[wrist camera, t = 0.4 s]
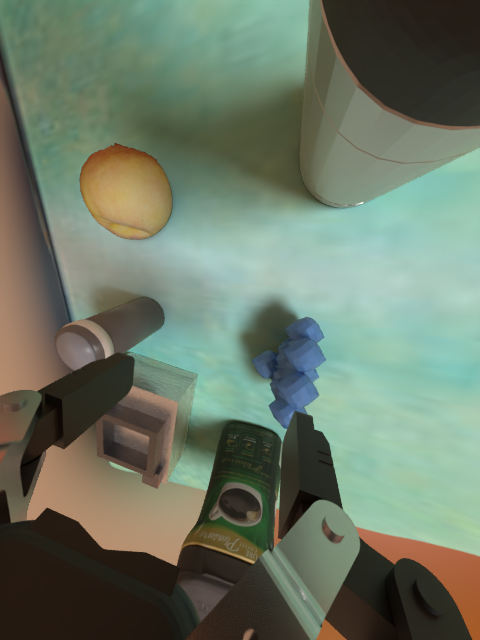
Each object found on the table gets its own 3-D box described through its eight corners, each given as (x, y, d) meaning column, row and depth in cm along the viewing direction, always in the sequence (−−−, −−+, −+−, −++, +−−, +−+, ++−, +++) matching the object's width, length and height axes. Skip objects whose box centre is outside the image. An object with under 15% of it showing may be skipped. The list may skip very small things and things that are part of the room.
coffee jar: (220, 451, 37) (157, 634, 20) (224, 414, 34) (155, 591, 17) (279, 469, 35) (265, 683, 18) (288, 431, 32) (282, 645, 15)
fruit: (117, 219, 27) (52, 212, 20) (139, 146, 24) (71, 105, 17) (169, 253, 27) (123, 259, 20) (198, 185, 24) (156, 162, 17)
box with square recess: (130, 351, 34) (85, 383, 27) (197, 374, 33) (169, 414, 25) (127, 427, 40) (90, 470, 33) (184, 449, 39) (158, 498, 31)
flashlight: (131, 291, 30) (47, 318, 20) (167, 301, 30) (99, 336, 19) (130, 326, 32) (53, 367, 22) (163, 336, 32) (100, 384, 21)
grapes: (268, 292, 26) (250, 331, 15) (327, 303, 25) (354, 354, 14) (252, 374, 30) (229, 451, 20) (302, 387, 29) (307, 476, 18)
